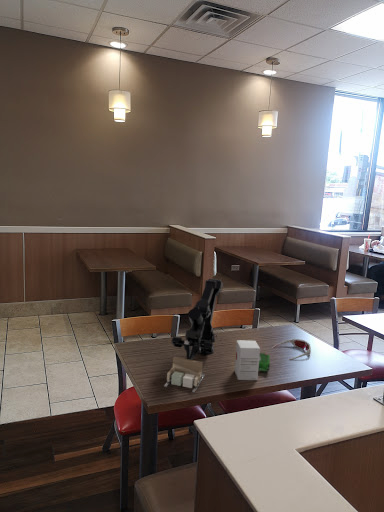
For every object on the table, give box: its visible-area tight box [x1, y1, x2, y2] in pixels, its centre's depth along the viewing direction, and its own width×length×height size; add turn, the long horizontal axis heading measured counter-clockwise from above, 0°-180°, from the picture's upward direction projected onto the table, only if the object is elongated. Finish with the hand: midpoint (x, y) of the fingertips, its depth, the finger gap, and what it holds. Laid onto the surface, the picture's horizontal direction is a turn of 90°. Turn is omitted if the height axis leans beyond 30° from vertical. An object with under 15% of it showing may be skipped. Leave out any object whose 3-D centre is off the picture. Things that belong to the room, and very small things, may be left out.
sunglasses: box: [271, 338, 312, 361], centre depth 207 cm, size 17×17×5 cm
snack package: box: [258, 352, 271, 372], centre depth 187 cm, size 7×16×5 cm, turn 169°
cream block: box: [182, 374, 195, 389], centre depth 167 cm, size 4×4×4 cm
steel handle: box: [163, 373, 205, 393], centre depth 170 cm, size 16×13×1 cm
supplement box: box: [234, 339, 261, 381], centre depth 177 cm, size 9×9×15 cm
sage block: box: [170, 372, 184, 387], centre depth 168 cm, size 4×4×4 cm
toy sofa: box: [166, 356, 204, 387], centre depth 169 cm, size 8×14×8 cm, turn 73°
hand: (188, 362), depth 172 cm, fingers closed, pressing on toy sofa
